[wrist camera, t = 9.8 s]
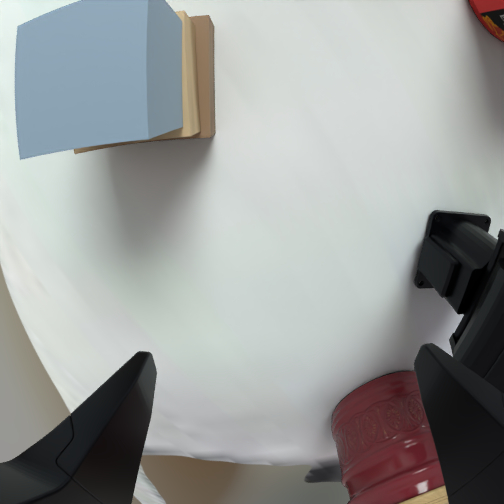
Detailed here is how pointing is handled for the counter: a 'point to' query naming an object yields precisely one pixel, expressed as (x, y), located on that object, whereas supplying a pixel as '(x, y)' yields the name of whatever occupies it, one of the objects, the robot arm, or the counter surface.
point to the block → (97, 75)
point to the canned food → (490, 15)
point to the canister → (387, 444)
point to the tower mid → (188, 90)
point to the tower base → (204, 76)
